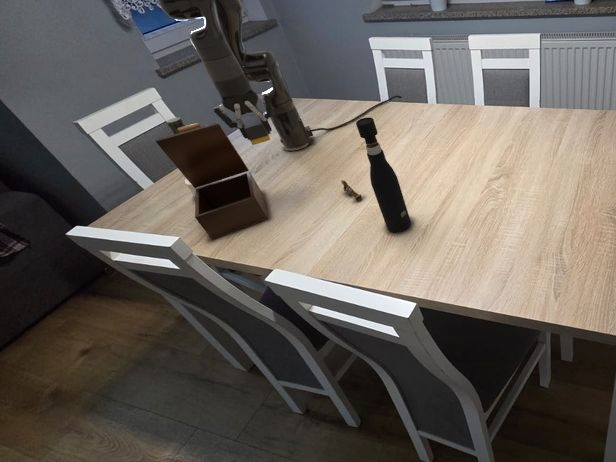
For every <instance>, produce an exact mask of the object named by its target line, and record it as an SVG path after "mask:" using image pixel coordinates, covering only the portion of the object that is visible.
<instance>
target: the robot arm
mask: <svg viewBox="0 0 616 462" xmlns="http://www.w3.org/2000/svg"><path fill="white" fill-rule="evenodd" d="M157 2H158V5H159V6H160V8H161V10H162V11H163V12H164V14H165V15H167V16H168V17H169V18H171V19H172V20H176V21H181V22H183V21H188V20H194V19H195V20H196V19H201V18H203V19H204V26H203V27H201V28H198V29H196V30H194V31H191V33H190V34H189V40H190V42H191V44H192V46H193V48H194V49H195V51H196V53H197V55H198V57H199V59H200V60H201V62H202V65H203V67H204V69H205V71H206V73H207V75H208V77H209V78H210V80H211V82H212V84H213V85H214V87H215V89H216V91H217V93H218V94H219V96H220V98H221V103H220V104H219V105H214V106H213V113H215V114H216V116H218V117H219V118H220V119H221V120H222V121H223V122H224V123H225V124H226V125H227V126H228V127H229V128H230V129H235V128H236V129H238V130H239V131H240V133H241V136H242V137H243V138H244V139H247V141H250V139H249V138H248V136H247V134H246V132H245V130H244V127H243V123H242V118H243V117H242V116H243V115H246V114H250V113H254V115H255V114H256V115H257V116H258V117H259V118H260V119H261V120H262V123H263V125H264V127H265V129H266V131H267V133H268V134H269V135H270V134H271V132H272V131H273V130H272V127H271V125H270V122H269V119H270V120H271V123H272V124H273V126H274V129H275V130H276V133H277V135H278V136H279V139H280V140H279V141H280V143H281V144H282V146H283V147H284V149H285V150H286V151H289V152H294V151H300V150H302V149H305V148H307V147H308V146H310V145H312V144H313V142H312V140H311V137H313V136H314V133H313V132H318V131H333V130H336V129H339V128H342V127H344V126H346V125H348V124H350V123H352V122H355V121H357V120H358V119H360V118H361V117H362V116H364V115H365V114H367V113H368V112H370V111H372V110H373V109H374V108H377V107H378V106H381V105H383V104H385V103H387V102H390V101H392V100H393V99H396V98H399V99H402V98H403V97H402V96H401V95H393V96H391V97H390V98H388V99H385V100H383V101H381V102H379V103H377V104H375V105H373V106H371V107H370V108H367V109H366V110H365V111H363V112H362V113H360V114H358V115H357V116H355V117H353V118H352V119H350V120H349V121H346V122H344V123H341V124H338V125H337V126H334V127H328V128H326V127H319V128H312V129H311V127H310V125H306V126H305V124H304V122H303V120H302V118H301V116H300V113H299V111H298V109H297V107H296V105H295V103H294V100H293V98H292V95H291V93H290V91H289V87H288V85H287V81H286V80H285V77H284V75H283V71H282V69H281V66H280V64H279V61H278V60H277V58H276V56H275V54H274V53H273V52H272V51H270V50H262V51H261V50H260V51H253V52H248V51H247V49H246V47H245V44H244V43H243V37H242V29H243V20H244V11H243V5H242V3H241V1H240V0H157ZM267 82H268V83H269V82H270V83H271V88H269V89H267V90H265V91H264V92H262V93H257V92H255V91H254V89H253V88H252V86H251V84H262V83H267ZM259 100H260V101H261V103H262V104H263V106H264V108H265V112H262V110H261V109H260V108H259V107H258V106H257V105H258V101H259ZM225 108H226V109H227V110H229V111H231V112H233V113H235V121H233V120H232V119H231V118H230V117H229V115H227V114H226V109H225Z"/></svg>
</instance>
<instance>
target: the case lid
mask: <svg viewBox="0 0 616 462" xmlns="http://www.w3.org/2000/svg"><path fill="white" fill-rule="evenodd" d="M177 129H178V131H179V133H178V134H174V133H173V134H171V135H166V136H163V137H160V138H156V139H155V140H154V142H155V143H156V144H157V145H158V147H159V148H160V149H161V150H162V151H163V152H164V154H165V155H166V156H167V157H168V159H169V160H170V161H171V162H172V163H173V164H174V165H175V167H176V168H177V169H178V170H179V171H180V173H181V174H182V176H184V178H185V179H186V178H187V180H188V181H189V182H190V183H191V184H192V186H193V187H194V188H197V187H200V186H203V185H206V184H210V183H213V182H216V181H219V180H224V179H228V178H231V177H234V176H237V175H240V174H243V173H247V172H249V171H250V169H249V168H248V166H247V164H246V163H245V161H244V160H243V158H242V157H241V155H240V153H239V152H238V151H237V149H236V147H235V146H234V145H233V142H232V141H231V140H230V138H229V136H228V135H227V134H226V132H225V130H224V129H223V127H222V126H221V124H220V122H214V123H211V124H207V125H203V126H202V125H201V124H200V122H195V123H191V124H187V125H184V126H183V127H180V128H177Z"/></svg>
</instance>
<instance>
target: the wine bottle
mask: <svg viewBox="0 0 616 462" xmlns="http://www.w3.org/2000/svg"><path fill="white" fill-rule="evenodd" d="M355 125H356V127H357V128H356V129H357V131H358V134H359V137H360V138H361V139H364V143H365V150H366V152H367V153H366V156H367V159H368V161H369V164H370V165H369V178H370V185H371V188H372V190H373V193H374V196H375V199H376V201H377V202H376V203H377V204H378V207H379V210H380V212H381V215H382V218H383V220H384V224H385V227H386V229H387V231H389V232H390V233H393V234H400V233H402V232H405V231H407V230H408V229H409V228H410V227H411V225H412V222H411V221H412V220H411V218H410V215H409V211H408V208H407V205H406V201H405V198H404V194H403V192H402V188H401V185H400V182H399V179H398V176H397V174H396V172H395V170H394V168H393V167H392V166H391V164H390V163H389V161H388V160H387V158H386V156H385V152H384V149H382V147H381V144H380V143H379V142H378V139H377V137H376V136H377V135H378V129H377V125H376V123H375V120H374V118H373V117H369V116H368V117H362V118H358V119H357V120H356V122H355Z"/></svg>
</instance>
